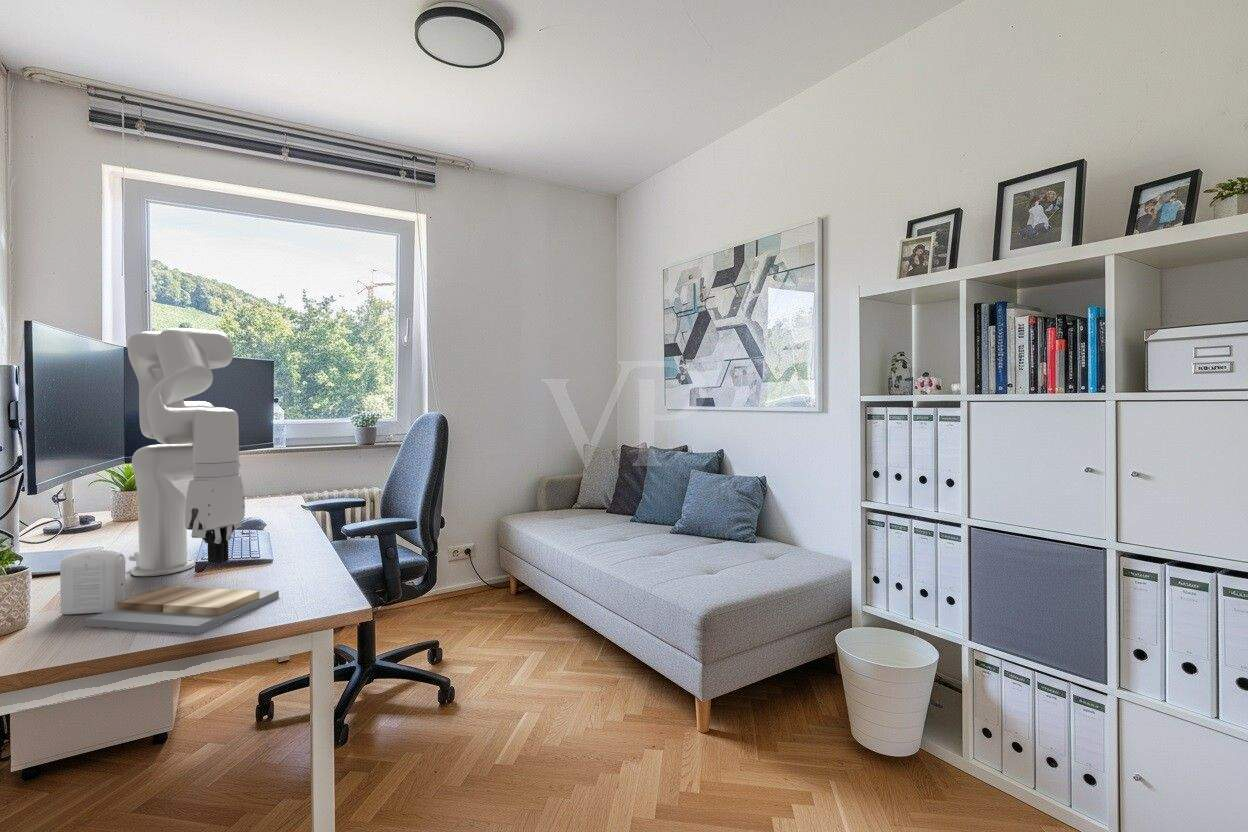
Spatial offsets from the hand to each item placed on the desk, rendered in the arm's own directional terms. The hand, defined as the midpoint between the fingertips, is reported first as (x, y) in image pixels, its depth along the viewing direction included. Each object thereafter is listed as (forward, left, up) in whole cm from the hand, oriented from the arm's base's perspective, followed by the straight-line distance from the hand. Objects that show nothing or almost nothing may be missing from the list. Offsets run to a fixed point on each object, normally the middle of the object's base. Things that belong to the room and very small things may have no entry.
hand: (218, 561), depth 116 cm
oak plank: (-1, 0, -9) cm, 9 cm away
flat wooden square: (-13, 0, -9) cm, 16 cm away
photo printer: (-26, -3, -11) cm, 28 cm away
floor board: (-7, 0, -10) cm, 12 cm away
